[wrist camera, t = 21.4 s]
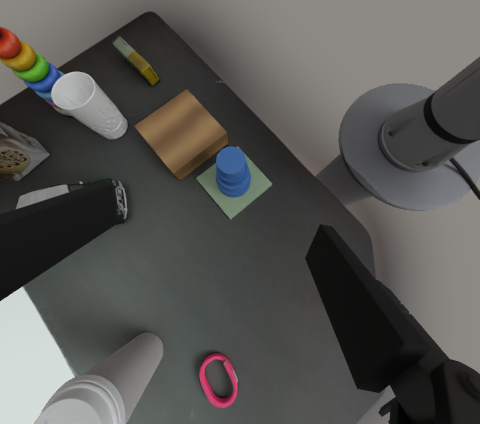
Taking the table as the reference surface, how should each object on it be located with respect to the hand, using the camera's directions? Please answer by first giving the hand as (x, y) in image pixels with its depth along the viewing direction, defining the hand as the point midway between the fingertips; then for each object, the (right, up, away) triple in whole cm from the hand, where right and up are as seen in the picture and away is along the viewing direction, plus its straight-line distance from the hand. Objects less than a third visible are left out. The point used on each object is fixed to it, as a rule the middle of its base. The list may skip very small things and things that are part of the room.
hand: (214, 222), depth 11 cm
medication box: (-23, +37, +32) cm, 54 cm away
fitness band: (-2, -29, +20) cm, 36 cm away
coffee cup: (-16, -26, +21) cm, 37 cm away
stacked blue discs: (0, +7, +26) cm, 27 cm away
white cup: (-28, +21, +30) cm, 46 cm away
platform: (-11, +17, +29) cm, 35 cm away
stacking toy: (-39, +27, +31) cm, 57 cm away
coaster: (0, +7, +27) cm, 28 cm away
